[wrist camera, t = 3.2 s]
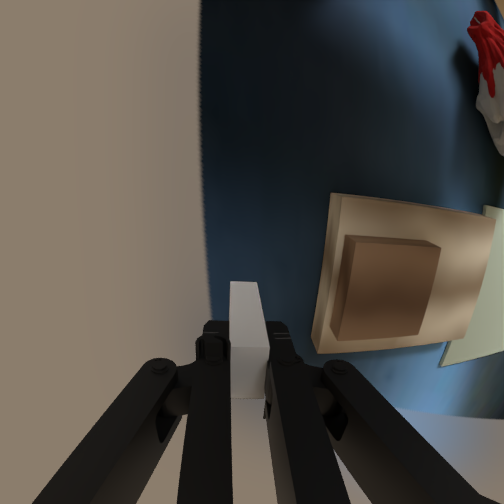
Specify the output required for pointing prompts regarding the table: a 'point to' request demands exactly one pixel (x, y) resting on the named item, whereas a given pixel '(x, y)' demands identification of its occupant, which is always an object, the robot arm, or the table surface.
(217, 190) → the table surface
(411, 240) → the walnut tile
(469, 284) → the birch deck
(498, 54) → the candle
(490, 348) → the sage mat
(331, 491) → the robot arm
